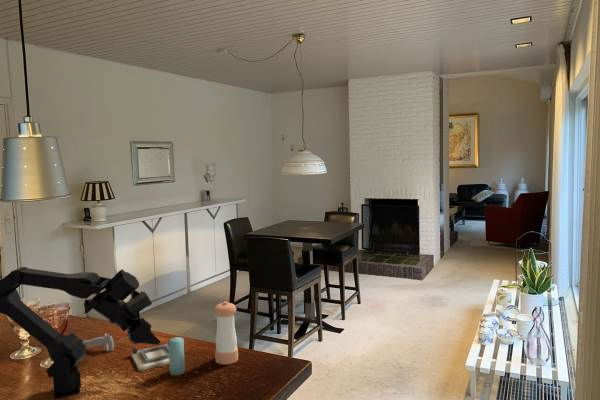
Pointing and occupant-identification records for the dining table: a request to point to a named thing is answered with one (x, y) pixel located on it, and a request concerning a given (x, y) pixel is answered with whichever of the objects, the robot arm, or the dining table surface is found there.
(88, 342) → the caliper
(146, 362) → the board
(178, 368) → the pin
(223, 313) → the salt shaker
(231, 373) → the dining table surface
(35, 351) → the dining table surface
